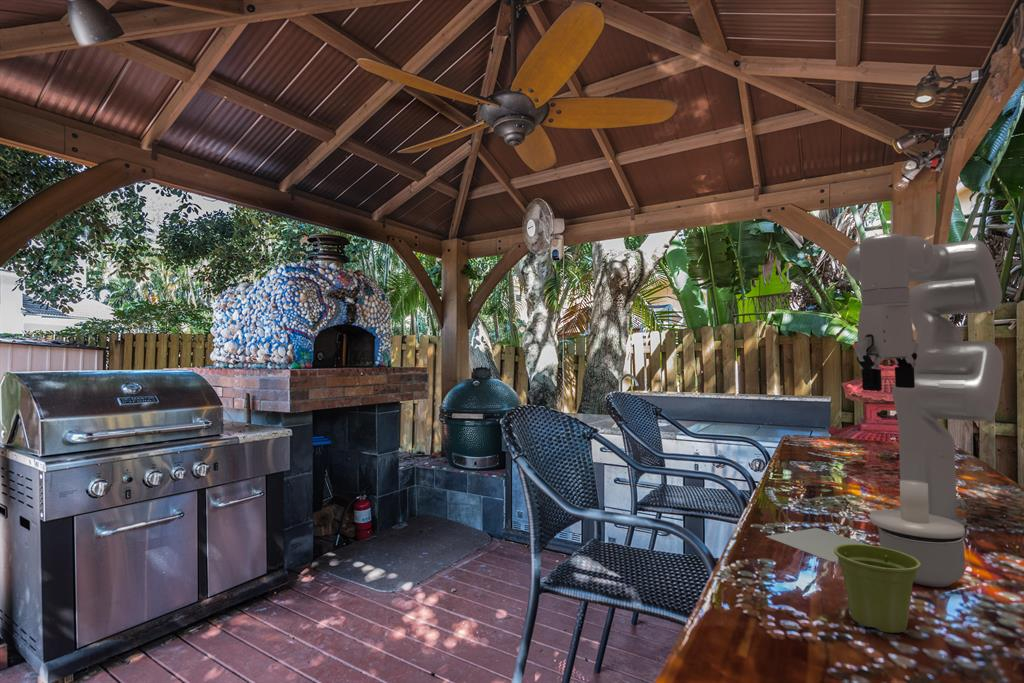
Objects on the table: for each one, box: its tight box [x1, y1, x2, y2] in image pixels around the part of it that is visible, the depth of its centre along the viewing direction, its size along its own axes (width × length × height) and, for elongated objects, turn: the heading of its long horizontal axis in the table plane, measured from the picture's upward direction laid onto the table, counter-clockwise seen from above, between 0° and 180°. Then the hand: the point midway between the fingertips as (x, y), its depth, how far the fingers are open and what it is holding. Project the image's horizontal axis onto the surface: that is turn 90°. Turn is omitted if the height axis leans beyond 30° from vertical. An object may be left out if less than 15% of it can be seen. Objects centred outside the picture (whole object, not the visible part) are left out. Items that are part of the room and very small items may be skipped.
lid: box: [869, 479, 965, 539], centre depth 84 cm, size 12×12×7 cm
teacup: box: [877, 526, 966, 588], centre depth 84 cm, size 14×11×8 cm
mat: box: [765, 527, 869, 563], centre depth 97 cm, size 14×14×1 cm
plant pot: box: [834, 544, 921, 634], centre depth 69 cm, size 9×9×9 cm
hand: (888, 388), depth 99 cm, fingers open, 9 cm apart
